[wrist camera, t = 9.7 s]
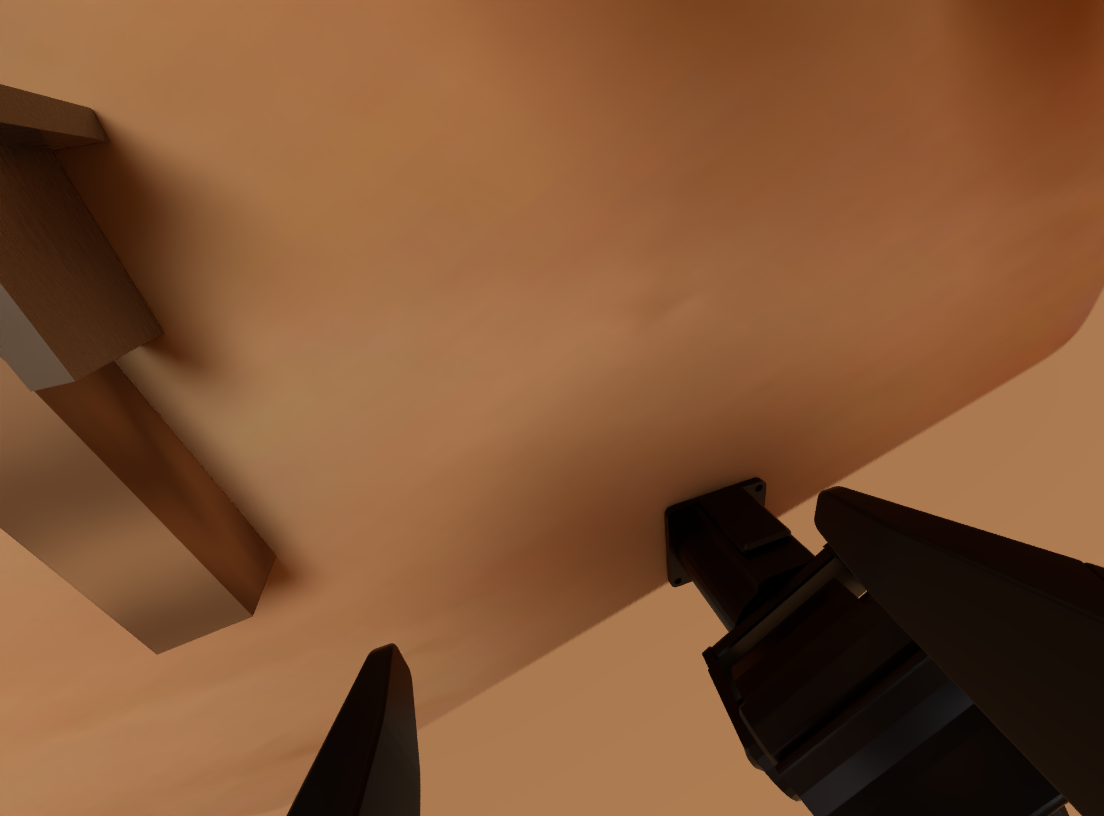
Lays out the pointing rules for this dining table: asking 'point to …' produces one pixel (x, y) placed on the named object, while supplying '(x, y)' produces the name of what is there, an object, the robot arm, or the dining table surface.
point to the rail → (124, 509)
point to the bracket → (57, 253)
